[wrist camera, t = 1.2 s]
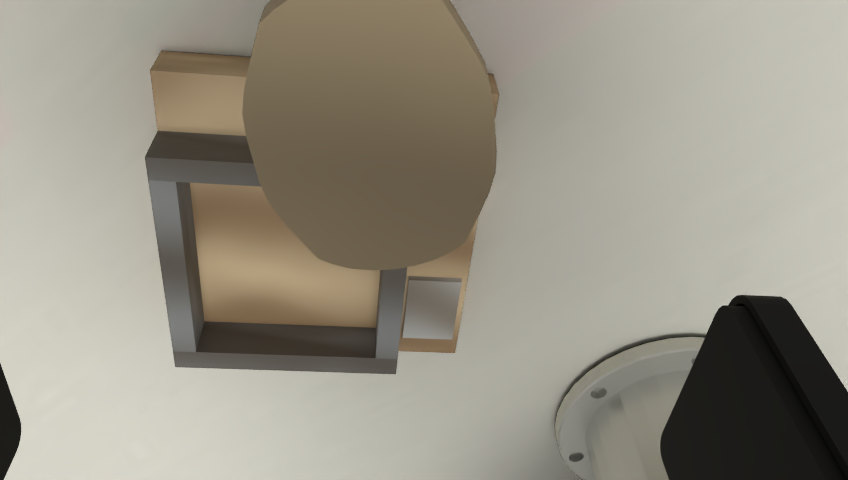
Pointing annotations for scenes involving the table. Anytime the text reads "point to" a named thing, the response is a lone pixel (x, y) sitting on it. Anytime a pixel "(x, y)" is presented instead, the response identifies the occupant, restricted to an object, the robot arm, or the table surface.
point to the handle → (370, 127)
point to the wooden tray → (270, 251)
